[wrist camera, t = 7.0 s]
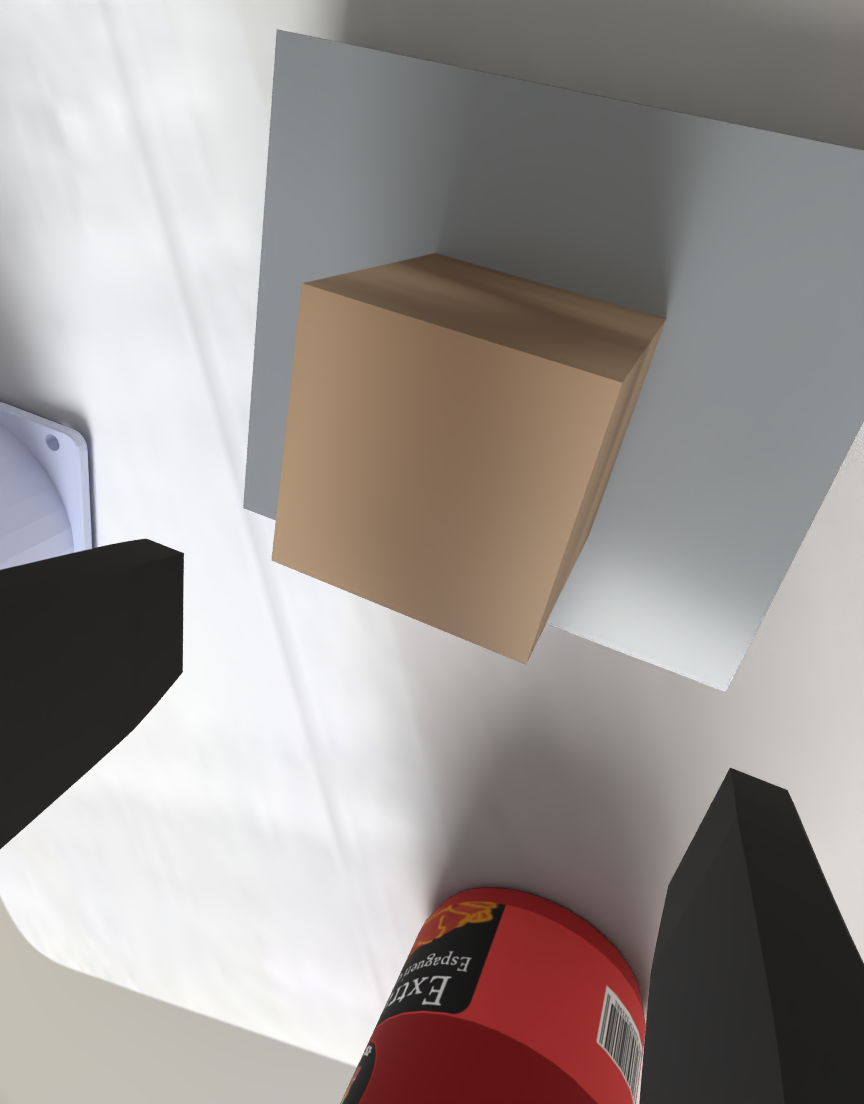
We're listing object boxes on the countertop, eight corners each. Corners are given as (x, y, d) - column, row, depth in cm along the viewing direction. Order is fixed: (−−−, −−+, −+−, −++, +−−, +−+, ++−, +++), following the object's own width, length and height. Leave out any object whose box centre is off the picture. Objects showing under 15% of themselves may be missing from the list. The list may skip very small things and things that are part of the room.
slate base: (295, 475, 21) (243, 507, 19) (340, 49, 16) (277, 29, 14) (729, 632, 18) (725, 692, 16) (952, 176, 13) (988, 176, 11)
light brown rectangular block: (394, 464, 17) (271, 559, 12) (435, 253, 14) (301, 283, 10) (589, 534, 16) (525, 664, 11) (665, 318, 13) (622, 382, 9)
